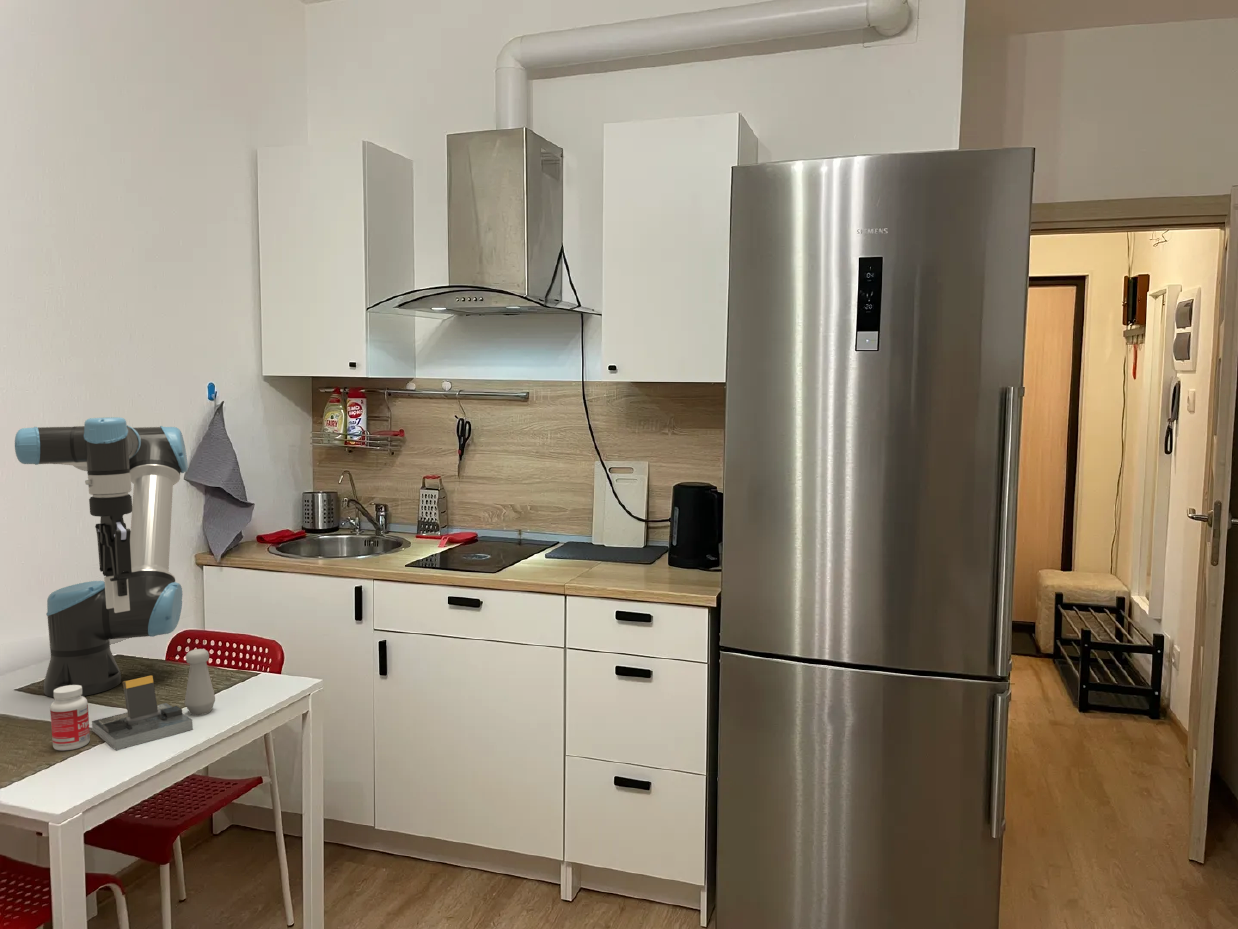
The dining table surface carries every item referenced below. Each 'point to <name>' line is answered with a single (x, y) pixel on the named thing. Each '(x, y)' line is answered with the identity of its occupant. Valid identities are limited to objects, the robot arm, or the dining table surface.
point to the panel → (141, 727)
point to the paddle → (140, 699)
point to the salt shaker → (199, 683)
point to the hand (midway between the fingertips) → (118, 609)
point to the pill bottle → (69, 718)
